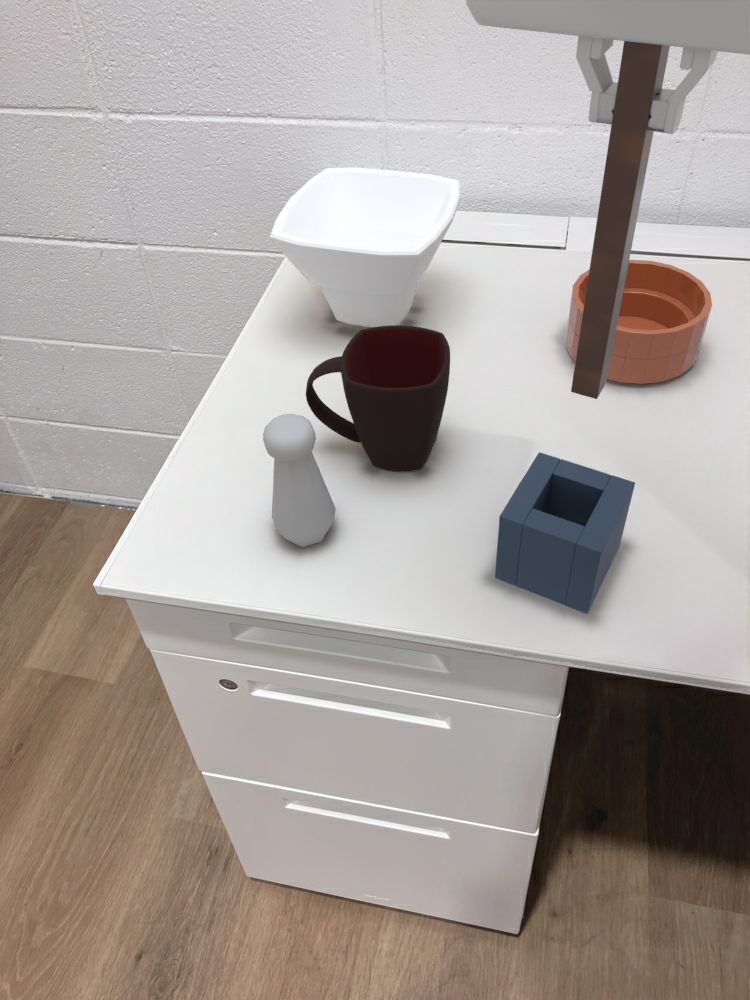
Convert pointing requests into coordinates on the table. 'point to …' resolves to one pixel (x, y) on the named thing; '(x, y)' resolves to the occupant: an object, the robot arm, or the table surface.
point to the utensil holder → (562, 530)
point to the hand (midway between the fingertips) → (633, 124)
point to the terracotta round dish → (650, 322)
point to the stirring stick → (618, 211)
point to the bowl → (366, 237)
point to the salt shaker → (297, 481)
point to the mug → (389, 393)
